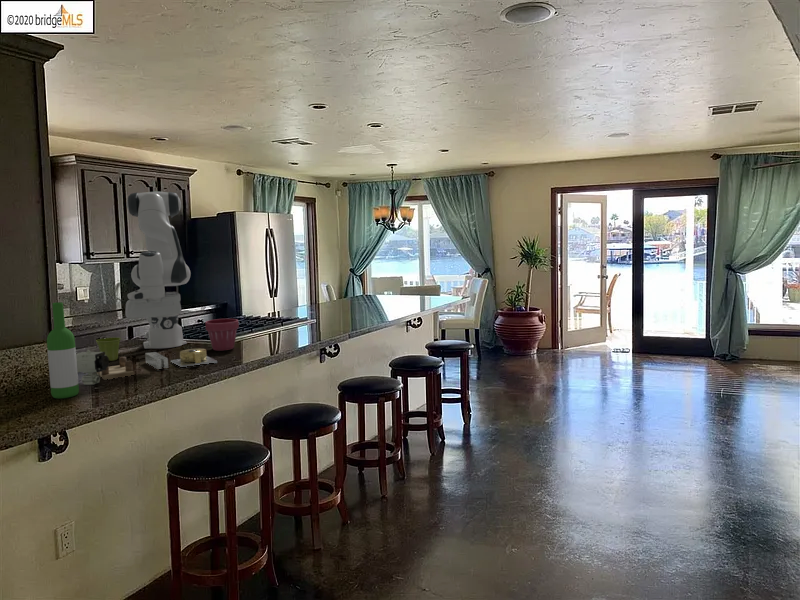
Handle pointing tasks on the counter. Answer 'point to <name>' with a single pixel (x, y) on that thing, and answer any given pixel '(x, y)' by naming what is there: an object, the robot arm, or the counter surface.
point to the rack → (118, 370)
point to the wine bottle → (62, 357)
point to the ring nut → (193, 355)
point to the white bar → (156, 360)
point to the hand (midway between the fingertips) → (155, 328)
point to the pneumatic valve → (91, 365)
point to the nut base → (185, 364)
